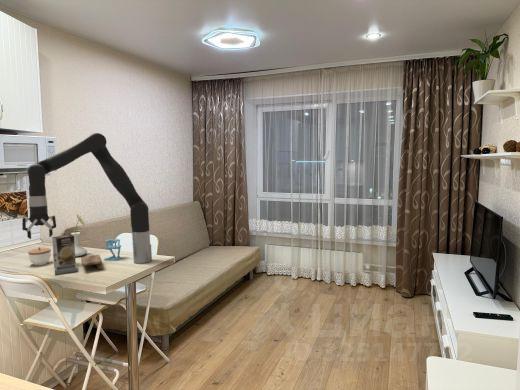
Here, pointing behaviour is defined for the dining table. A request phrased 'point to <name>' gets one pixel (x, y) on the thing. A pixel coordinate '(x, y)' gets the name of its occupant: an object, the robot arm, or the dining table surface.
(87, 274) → the dining table surface
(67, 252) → the coffee box
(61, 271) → the dark grey flat block
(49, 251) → the lidded jar
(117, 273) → the dining table surface
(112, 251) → the chair
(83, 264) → the light brown rounded block
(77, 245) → the flower in vase
